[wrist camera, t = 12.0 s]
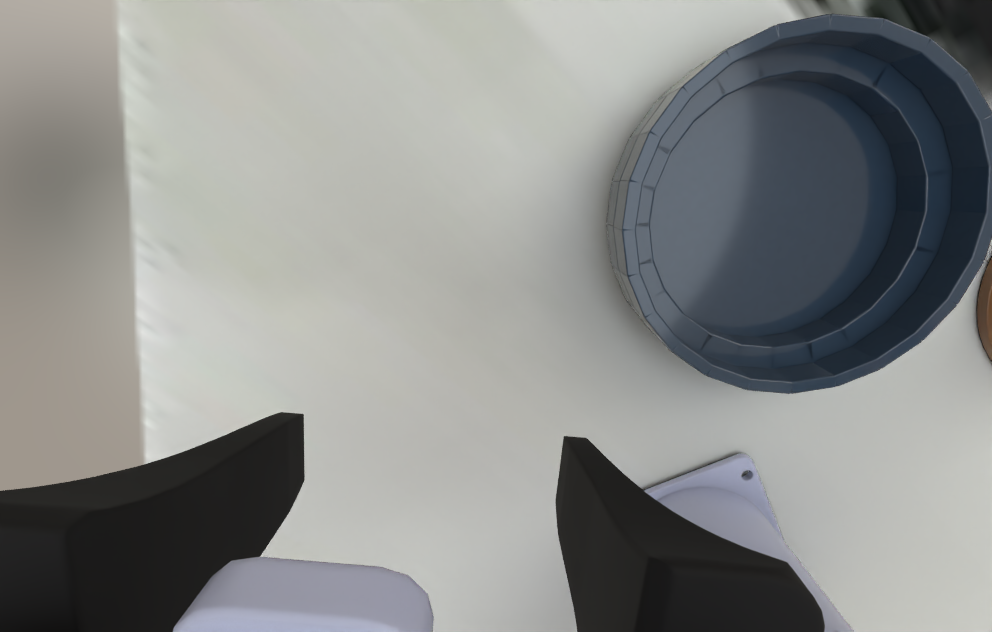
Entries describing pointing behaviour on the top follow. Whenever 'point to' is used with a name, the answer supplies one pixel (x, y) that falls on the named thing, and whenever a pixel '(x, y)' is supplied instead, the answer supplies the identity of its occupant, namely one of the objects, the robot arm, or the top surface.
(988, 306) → the coaster
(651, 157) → the bowl
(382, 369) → the top surface
